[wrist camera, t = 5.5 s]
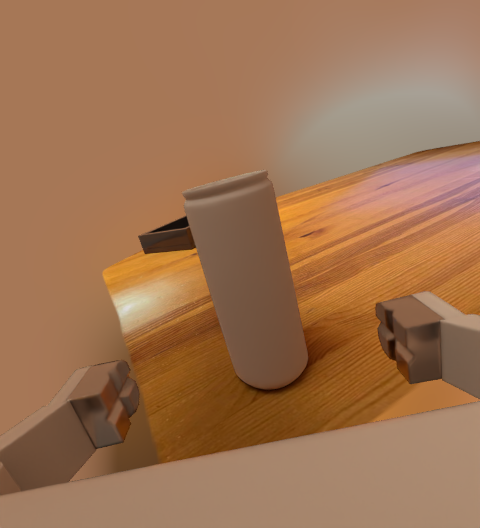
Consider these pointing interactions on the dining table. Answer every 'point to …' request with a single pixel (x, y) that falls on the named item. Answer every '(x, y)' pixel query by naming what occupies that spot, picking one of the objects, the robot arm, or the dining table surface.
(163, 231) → the dark shallow tray
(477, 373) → the robot arm
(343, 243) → the dining table surface
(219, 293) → the beverage can
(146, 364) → the dining table surface
